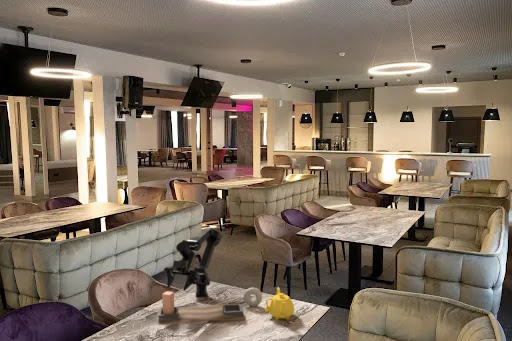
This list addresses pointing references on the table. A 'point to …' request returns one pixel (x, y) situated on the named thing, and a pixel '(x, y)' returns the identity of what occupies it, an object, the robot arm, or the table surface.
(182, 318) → the puzzle board
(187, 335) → the table surface
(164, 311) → the block
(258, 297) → the donut
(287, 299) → the teapot
